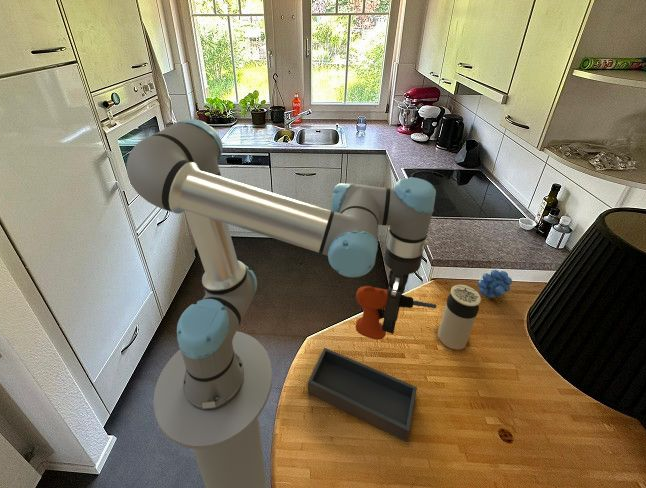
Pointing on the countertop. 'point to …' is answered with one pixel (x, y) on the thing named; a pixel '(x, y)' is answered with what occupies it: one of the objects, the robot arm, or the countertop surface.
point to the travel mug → (459, 316)
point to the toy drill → (378, 310)
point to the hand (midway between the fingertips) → (389, 324)
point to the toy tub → (364, 392)
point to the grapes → (494, 283)
